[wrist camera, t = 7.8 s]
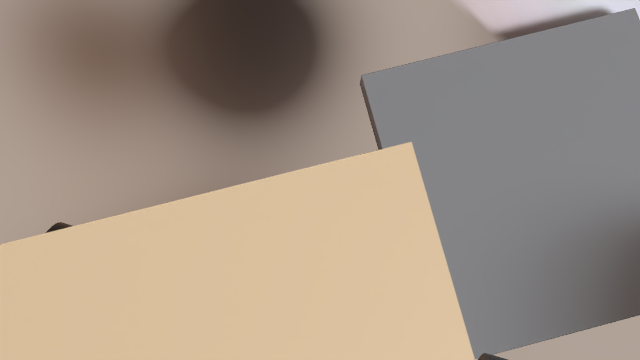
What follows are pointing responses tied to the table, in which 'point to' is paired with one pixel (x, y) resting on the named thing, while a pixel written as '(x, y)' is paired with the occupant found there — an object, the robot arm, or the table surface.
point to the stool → (245, 275)
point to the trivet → (528, 174)
